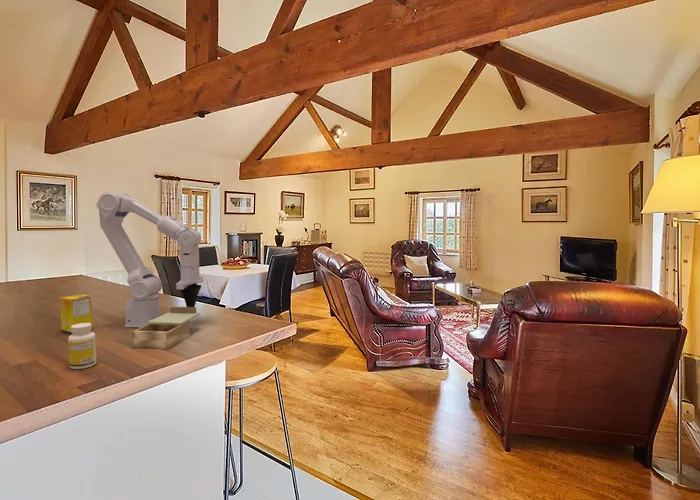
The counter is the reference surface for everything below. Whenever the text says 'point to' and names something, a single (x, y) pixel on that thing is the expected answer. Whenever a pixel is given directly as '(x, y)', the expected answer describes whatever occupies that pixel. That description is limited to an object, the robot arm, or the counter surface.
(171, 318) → the lid
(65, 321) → the supplement box
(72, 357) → the supplement bottle
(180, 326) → the box
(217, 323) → the counter surface
